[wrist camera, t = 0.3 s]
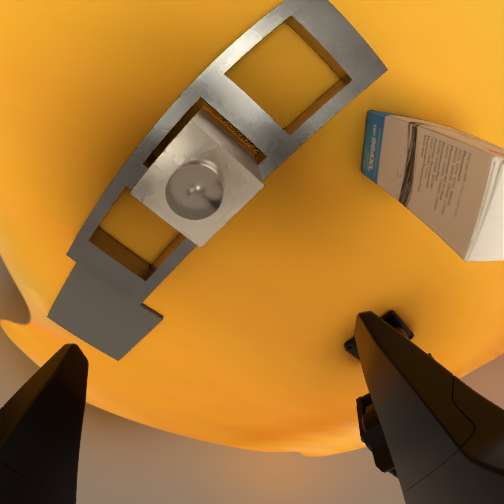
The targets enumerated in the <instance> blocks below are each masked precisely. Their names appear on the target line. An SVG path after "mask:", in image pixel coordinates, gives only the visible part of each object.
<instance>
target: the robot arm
mask: <svg viewBox="0 0 504 504" xmlns="http://www.w3.org/2000/svg"><path fill="white" fill-rule="evenodd" d="M354 335H355V337H354V338H353V339H352V340H350V341H349V342H347V343H346V344H345V345H344V348H345V350H346V351H348V352H349V353H350V354H352V355H353V356H355V357H356V358H358V359H359V360H360V361H361V365H362V369H363V373H364V377H365V381H366V384H367V387H368V390H369V392H370V393H368V394H366V395H364V396H363V397H359V398H357V399H356V402H357V414H358V421H359V429H360V436H361V440H362V442H364V443H365V444H366V446H367V447H368V448H369V450H371V451H372V453H373V457H374V461H375V464H376V466H377V467H378V468H379V469H380V470H381V471H382V472H384V473H385V472H390V473H391V474H393V475H394V476H395V477H397V478H398V479H399V482H400V485H401V488H402V492H403V495H404V499H405V502H406V504H504V410H503V409H502V408H500V407H499V406H497V405H495V404H494V403H492V402H491V401H489V400H487V399H486V398H484V397H483V396H482V395H480V394H478V393H477V392H476V391H474V390H473V389H472V388H470V387H469V386H467V385H466V384H465V383H463V382H462V381H461V380H460V379H459V378H457V377H456V376H453V374H452V373H451V372H450V371H448V370H447V369H446V368H444V367H443V366H442V365H441V364H439V363H438V362H437V361H436V360H435V359H434V358H433V357H432V355H431V354H430V353H429V354H427V353H425V352H424V351H423V350H421V349H420V348H419V347H418V346H416V345H415V344H414V343H412V342H411V341H410V340H411V339H412V338H413V337H414V334H413V332H412V331H411V330H410V329H409V328H408V326H407V325H406V324H405V323H404V322H403V321H402V320H401V318H400V317H399V316H398V315H397V314H396V313H395V312H394V311H391V312H389V313H387V314H386V315H385V316H384V317H382V318H380V317H378V316H377V315H376V314H374V313H373V312H371V311H366V312H361V313H358V315H357V318H356V325H355V332H354ZM87 377H88V360H87V358H86V357H85V355H84V354H83V352H82V351H81V349H80V348H79V347H78V345H76V344H65V345H64V346H63V347H62V348H61V349H60V350H59V351H57V352H56V353H55V354H54V355H53V356H52V357H51V358H50V359H49V360H48V361H47V362H46V363H45V364H44V365H43V366H42V367H41V368H40V369H39V370H38V371H37V372H36V373H35V374H34V375H33V376H32V377H31V378H30V379H29V380H28V381H27V382H26V383H25V384H24V385H23V386H22V387H21V388H20V389H19V390H18V391H17V392H16V393H15V394H14V395H13V397H11V398H10V399H9V400H8V402H7V403H6V404H5V405H4V407H2V408H1V409H0V504H76V490H77V473H78V460H79V449H80V440H81V431H82V424H83V416H84V410H85V403H86V389H87Z"/></svg>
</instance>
